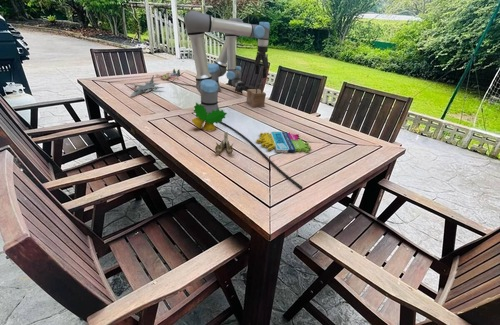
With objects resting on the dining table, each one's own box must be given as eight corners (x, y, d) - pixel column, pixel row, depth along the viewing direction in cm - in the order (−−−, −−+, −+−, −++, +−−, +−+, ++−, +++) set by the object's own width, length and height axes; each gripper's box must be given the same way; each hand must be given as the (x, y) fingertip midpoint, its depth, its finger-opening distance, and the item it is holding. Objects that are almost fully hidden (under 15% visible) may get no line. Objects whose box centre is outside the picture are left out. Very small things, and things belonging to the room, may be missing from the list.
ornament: (218, 133, 171) (224, 110, 169) (221, 134, 163) (227, 111, 161) (186, 125, 162) (192, 101, 160) (189, 126, 155) (195, 101, 153)
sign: (313, 150, 142) (258, 149, 139) (312, 153, 143) (258, 152, 140) (301, 132, 164) (254, 130, 161) (301, 134, 165) (254, 133, 162)
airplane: (124, 87, 237) (122, 75, 232) (159, 84, 250) (158, 74, 245) (128, 99, 208) (126, 87, 203) (168, 96, 222) (167, 84, 217)
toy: (188, 70, 290) (175, 74, 264) (188, 76, 294) (176, 81, 268) (165, 67, 295) (150, 71, 269) (166, 74, 299) (151, 78, 273)
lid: (265, 95, 207) (266, 84, 203) (254, 95, 203) (255, 84, 199) (258, 90, 219) (259, 79, 215) (247, 90, 215) (247, 80, 211)
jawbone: (234, 135, 144) (233, 125, 135) (233, 160, 138) (232, 151, 129) (217, 135, 144) (216, 125, 135) (216, 160, 138) (214, 150, 129)
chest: (264, 106, 212) (265, 94, 208) (253, 107, 209) (253, 95, 204) (257, 101, 224) (258, 90, 219) (246, 102, 220) (247, 90, 215)
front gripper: (275, 48, 181) (272, 79, 192) (260, 44, 201) (258, 72, 211) (265, 47, 179) (262, 79, 189) (251, 43, 198) (249, 72, 209)
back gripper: (252, 89, 249) (261, 95, 232) (227, 90, 240) (235, 96, 223) (252, 81, 245) (262, 86, 229) (227, 82, 236) (235, 87, 219)
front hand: (260, 76), depth 200 cm, fingers open, 13 cm apart
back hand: (249, 91), depth 226 cm, fingers open, 13 cm apart
